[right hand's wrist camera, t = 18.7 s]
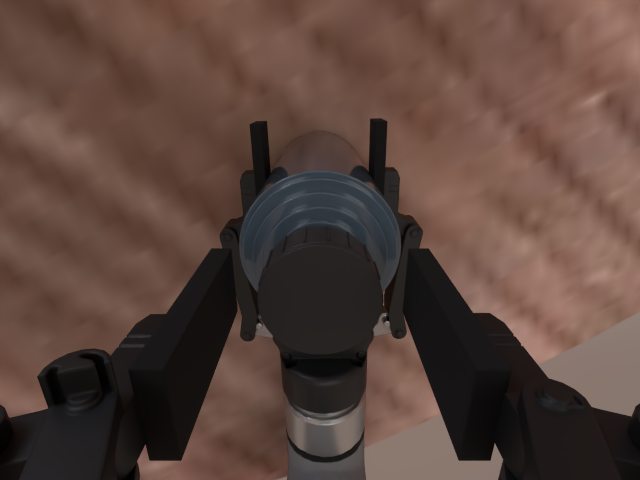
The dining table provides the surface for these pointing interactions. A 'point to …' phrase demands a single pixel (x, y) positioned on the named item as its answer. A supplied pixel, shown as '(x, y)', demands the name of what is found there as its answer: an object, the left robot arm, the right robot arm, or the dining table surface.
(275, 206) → the bottle
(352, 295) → the cap
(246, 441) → the dining table surface
